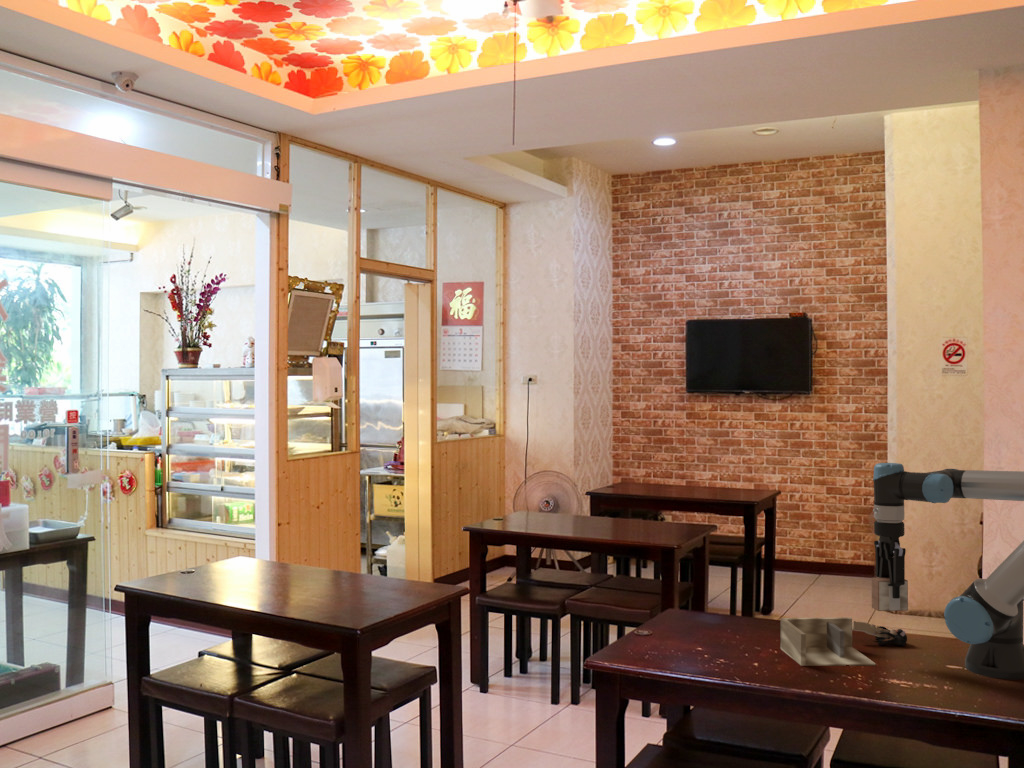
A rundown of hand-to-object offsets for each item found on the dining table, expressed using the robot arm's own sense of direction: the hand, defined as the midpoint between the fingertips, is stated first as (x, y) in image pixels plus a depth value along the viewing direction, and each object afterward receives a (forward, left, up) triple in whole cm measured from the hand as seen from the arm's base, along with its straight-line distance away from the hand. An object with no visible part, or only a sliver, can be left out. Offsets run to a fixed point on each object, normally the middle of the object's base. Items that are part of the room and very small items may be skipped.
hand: (890, 607), depth 242 cm
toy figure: (+3, -19, -11) cm, 22 cm away
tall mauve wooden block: (0, 0, 0) cm, 0 cm away
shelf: (+16, -4, -15) cm, 22 cm away
